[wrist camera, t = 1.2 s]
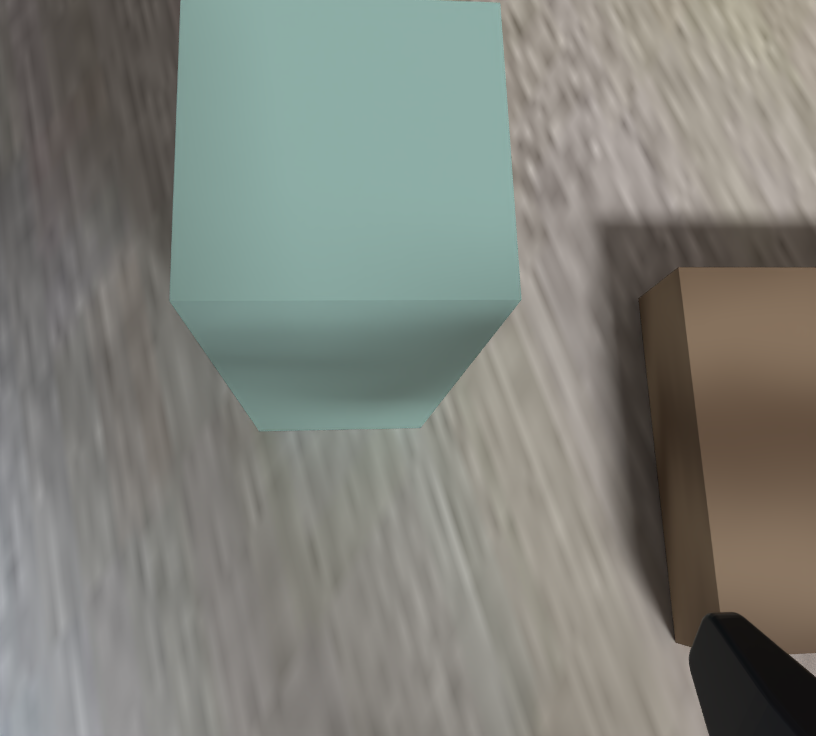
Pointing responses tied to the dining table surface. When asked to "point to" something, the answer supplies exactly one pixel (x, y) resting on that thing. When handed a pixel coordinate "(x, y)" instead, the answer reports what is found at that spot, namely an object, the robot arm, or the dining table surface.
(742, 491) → the walnut base
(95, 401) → the dining table surface
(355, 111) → the pillar
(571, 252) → the dining table surface
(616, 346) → the dining table surface
